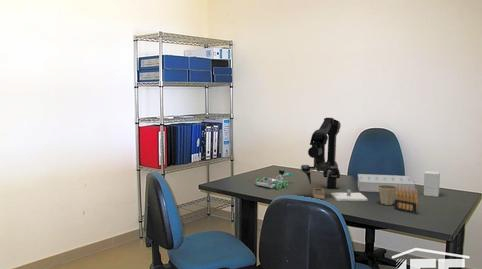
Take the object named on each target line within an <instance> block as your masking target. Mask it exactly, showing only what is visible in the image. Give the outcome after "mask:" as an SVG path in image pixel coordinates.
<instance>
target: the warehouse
mask: <svg viewBox="0 0 482 269" xmlns="http://www.w3.org/2000/svg"><path fill="white" fill-rule="evenodd" d="M379 185H392V186H396V187H397V185H398V186H399V194H400V187H401V186H402V189H403V192H404V187H406V194H407V189H408V187H409V188H410V194H411V189H412V187H413V190H414V194H415V189H416V183H415V181H414V180H413V178H412V176H411V175H398V174H397V175H395V174H394V175H393V174H392V175H391V174H367V173H357V188H358V191H359V192H371V193H379V188H378V186H379ZM395 194H396V192H395Z"/></svg>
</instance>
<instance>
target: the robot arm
mask: <svg viewBox="0 0 482 269" xmlns="http://www.w3.org/2000/svg"><path fill="white" fill-rule="evenodd" d="M341 127H342V126H341V122H340V121H339V120H337V119H335V118H333V117H325V118H324V119H323V122H322V124H321V125H320V127H319V128H318V129H316V130H314V131H313V133H312V135H311V139H310V142H309V145H310V146H311V147H309V148H308V151H307V154H308V156H309V158H312V159H313V166H310V165H309V164H301V166H300V170H301V172H303V173H304V174H306V176H307V179H308V182H309V183H308V184H309V185H311V183H312V178H311V171H317V172H318V173H319V172H322V173H323V178H326V184H325V185H324V187H325V188H326V189H329V190H330V189H332V190H333V189H339V187H338V186H337V184H338V179H340V178H341V172H340V169H339V165H338V162H337V161H336V157H337V156H336V152H337V150H336V148H337V135H339V133H340V129H341ZM326 145H327V156H326V154H325V153H326V151H325V150H326ZM325 156H326V157H327V158H325ZM326 159H327V160H326Z"/></svg>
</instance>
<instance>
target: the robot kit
mask: <svg viewBox="0 0 482 269" xmlns="http://www.w3.org/2000/svg"><path fill="white" fill-rule="evenodd" d="M278 174H279V175H276V176H275V177H276V178H271V177H267V176H264V177H262V179H261V178H259V177H258V178H256V179H255V181H254V183H255V185H256V186H259V187H260V186H261V187H265V188H270V189H273V188H275V189H276V190H281V189H282V188H285V189H286V187H287V188H288V187H289V181H288V180H283V179H284V178H286V177H293V176H294V173H293V172H292V173H290V172H285V169H281V168H280V169H278Z"/></svg>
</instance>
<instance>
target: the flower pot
mask: <svg viewBox="0 0 482 269" xmlns="http://www.w3.org/2000/svg"><path fill="white" fill-rule="evenodd" d="M378 188H379V192H378V193H379V200H380V204H381V205H386V206H392V205H395V198H396V193H395V192H396V188H397V187H396V186H392V185H379V186H378Z"/></svg>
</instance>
